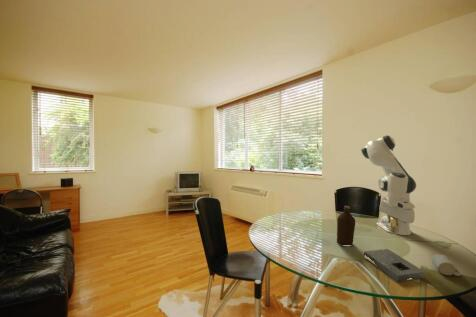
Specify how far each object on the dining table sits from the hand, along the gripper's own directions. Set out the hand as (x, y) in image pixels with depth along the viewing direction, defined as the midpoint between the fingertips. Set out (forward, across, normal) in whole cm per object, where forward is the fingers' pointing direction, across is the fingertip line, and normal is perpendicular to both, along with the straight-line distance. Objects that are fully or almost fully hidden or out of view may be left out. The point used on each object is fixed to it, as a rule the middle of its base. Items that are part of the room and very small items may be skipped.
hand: (394, 224), depth 129 cm
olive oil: (+19, -18, -18) cm, 32 cm away
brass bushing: (+4, 0, 0) cm, 4 cm away
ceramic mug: (+20, +17, +16) cm, 31 cm away
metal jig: (+20, +9, -9) cm, 23 cm away
